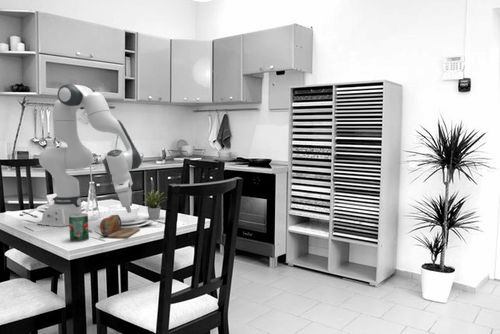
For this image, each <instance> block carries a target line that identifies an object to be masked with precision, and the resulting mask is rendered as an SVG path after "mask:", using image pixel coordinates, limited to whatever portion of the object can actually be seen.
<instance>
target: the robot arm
mask: <svg viewBox="0 0 500 334" xmlns="http://www.w3.org/2000/svg"><path fill="white" fill-rule="evenodd" d="M57 99H58V100H56V101H55V102H54V106H53V111H52V113H53V114H52V117H53V118H52V122H53V123H52V124H53V125H52V126H53V135H54V138H56V139H57V140H58V141H61V142H63V143H65V144H66V146H67V147H54V148H53V147H51V148H47V149H44V150H42V151H41V152H40V153H39V155H38V162H39V165H40V166H41V168H43V169H44V170H45V171H46V172H48V173H50V174H49V175H51V176H52V178H53V180H54V184H55V189H56V191H55V192H56V196H54V197H52V198H51V201H53V203H52V205H50V206H49V207H48V208H46V209H45V210H44V211H43V213H42V218H41V220H39V221H38V222H37V224H42V225H41V226H46V225H49V227H59V228H60V227H67V226H69V215H72V214H78V213H82V207H81V205H82V200H81V199H82V198H81V197H82V196H81V193H80V181H79V180H78V178H76V177H75V176H73V175H70V174H68V173H67V170H80V169H81V170H82V169H86V168H89V167H91V165H92V164H93V162H94V155H93V152H92V151H91V150H90V149H89V148H87V147H86V146H85V145H84V143H82V141H81V140H80V137H79V134H78V123H77V120H78V119H77V112H78V110H84V109H85V113H86V115H87V118H88V121H89V123H90V125H91V127H92V128H93V129H94V130H96V131H98V132H101V133H102V132H103V133H110V134H116V135H117V136H118V137H119V138H120V140H121V142H122V144H123V145H124V148H125V151H123V150H121V149H112V150H109V151H108V152H107V153H106V156H105V157H104V158H103V159H102V164H103V166H104V172H105V173H106V174H109V175H111V181H112V184H113V187H114V191H115V193H116V194H117V197H118V199H119V202H120V205H121V207H123V208H125V211H126V213H127V214H129V213H132V208H131V207H132V205H133V201H132V197H133V195H132V194H133V191H132V185H133V184H134V183H133V180H132V175H131V173H130V170H131V171H132V170H135V169H136V170H137V169H138V168H140V166H141V165H142V162H143V160H142V156H141V154H140V153H139V151H138V149H137V148H136V146H135V143H133V140H132V139H131V136H130V135H129V133H128V132H127V129H126V128H125V126H124V124H123V123H122V122H121V121H120V120H119V119H116V118H115V117H114V116H113V114H112V111H111V109H110V107H109V104H108V103H107V102H108V101H107V100H106V99H105V97H104V95H103V93H101V92H98V91H97V92H96V91H95V89H93V88H91V87H90V86H86V85H82V84H72V83H71V84H70V83H66V84H63V85H61V86H60V87H59V88H58V91H57Z"/></svg>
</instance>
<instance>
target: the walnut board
mask: <svg viewBox="0 0 500 334" xmlns="http://www.w3.org/2000/svg"><path fill="white" fill-rule="evenodd" d="M140 229H141V228H135V227H134V228H130V227H122V228H120V229H119V230H118V231H116V232H114V233H112V234H110V235H109V236H107V239H123V240H124V239H125V240H126V239H129V238H131V236H133V235H136V234H137V233H138V232H140Z"/></svg>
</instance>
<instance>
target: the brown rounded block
mask: <svg viewBox="0 0 500 334" xmlns="http://www.w3.org/2000/svg"><path fill="white" fill-rule="evenodd" d="M121 227H122V220H121V217H120V215H118V214H112V215H111V214H110V216H107V217H105V218H103V219H102V220H101V221H100V226H99V229H100V233H101V235H102V236H103V237H108V236H109V235H110V234H112V233H114V232H116V231H118V230H119V229H121Z"/></svg>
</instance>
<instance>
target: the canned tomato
mask: <svg viewBox="0 0 500 334" xmlns="http://www.w3.org/2000/svg"><path fill="white" fill-rule="evenodd" d="M68 226H69V228H68V229H69V241H70V242H75V243H78V242H84V241H85V242H86V241H88V240H89V239H90V238H89V236H90V235H89V233H90V231H89V215H88V213H78V214H72V215H69V225H68Z"/></svg>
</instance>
